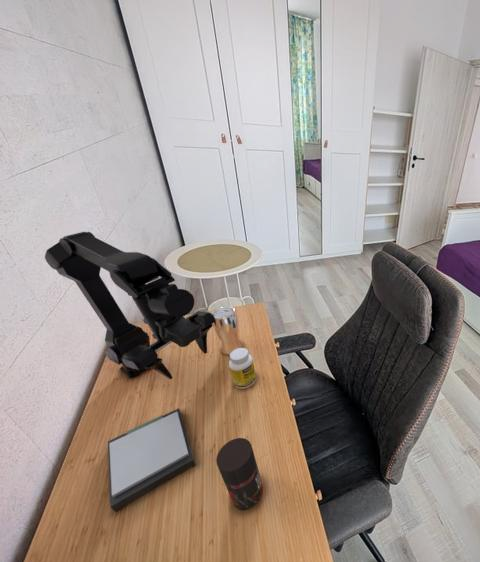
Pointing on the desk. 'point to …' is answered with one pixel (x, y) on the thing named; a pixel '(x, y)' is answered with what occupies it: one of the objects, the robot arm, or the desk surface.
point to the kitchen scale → (147, 458)
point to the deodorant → (240, 473)
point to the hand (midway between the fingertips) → (189, 365)
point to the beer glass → (227, 328)
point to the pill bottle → (242, 368)
